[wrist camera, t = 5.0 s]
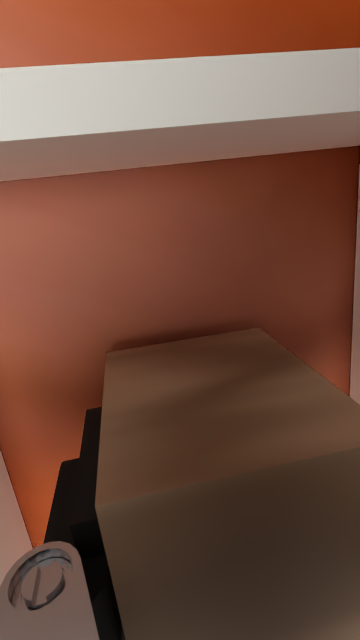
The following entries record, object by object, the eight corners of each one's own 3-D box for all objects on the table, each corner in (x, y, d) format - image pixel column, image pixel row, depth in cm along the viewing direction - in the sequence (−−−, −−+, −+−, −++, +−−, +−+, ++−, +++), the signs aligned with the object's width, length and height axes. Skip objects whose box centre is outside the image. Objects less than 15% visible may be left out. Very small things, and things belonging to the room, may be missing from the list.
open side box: (388, 109, 11) (579, 35, 7) (365, 472, 16) (469, 578, 11) (-138, 155, 9) (-398, 91, 5) (8, 559, 14) (-47, 735, 9)
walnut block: (258, 327, 11) (402, 437, 6) (263, 453, 13) (380, 639, 7) (106, 352, 11) (94, 506, 5) (130, 482, 12) (142, 713, 6)
